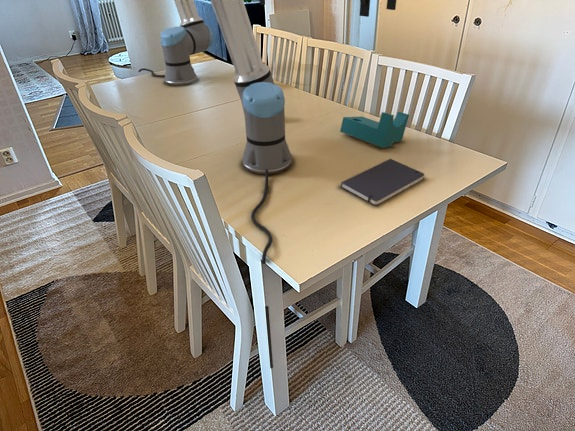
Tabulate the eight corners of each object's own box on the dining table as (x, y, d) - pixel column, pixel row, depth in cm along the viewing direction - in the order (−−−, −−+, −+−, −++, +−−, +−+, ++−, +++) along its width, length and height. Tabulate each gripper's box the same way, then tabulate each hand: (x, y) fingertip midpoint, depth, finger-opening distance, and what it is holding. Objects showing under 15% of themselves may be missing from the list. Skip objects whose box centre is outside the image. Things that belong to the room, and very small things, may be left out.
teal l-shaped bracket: (400, 145, 137) (409, 114, 132) (382, 147, 129) (391, 115, 125) (358, 130, 148) (365, 101, 143) (340, 131, 140) (346, 101, 136)
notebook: (389, 163, 124) (340, 187, 113) (390, 158, 123) (341, 182, 112) (424, 178, 116) (375, 206, 105) (425, 174, 115) (376, 201, 104)
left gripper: (263, -57, 164) (266, 1, 177) (214, -54, 150) (220, 9, 162) (276, -57, 160) (278, 3, 172) (226, -54, 146) (232, 11, 158)
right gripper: (399, -77, 116) (390, 5, 128) (345, -76, 101) (341, 17, 114) (423, -78, 111) (411, 8, 124) (370, -76, 97) (363, 20, 109)
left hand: (250, 6), depth 167 cm, fingers open, 13 cm apart
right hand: (377, 12), depth 119 cm, fingers open, 13 cm apart
